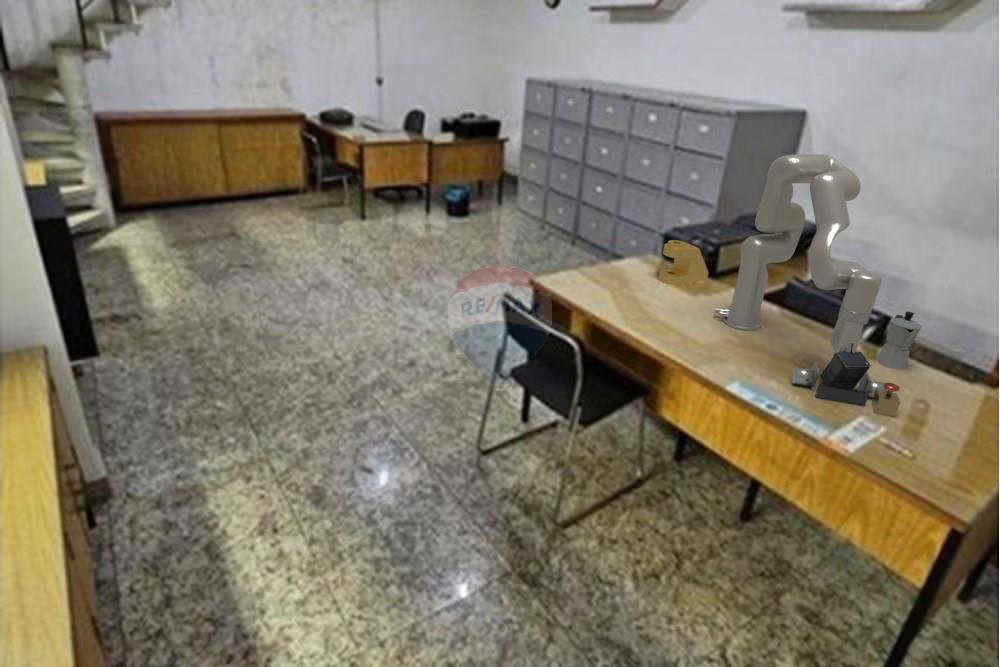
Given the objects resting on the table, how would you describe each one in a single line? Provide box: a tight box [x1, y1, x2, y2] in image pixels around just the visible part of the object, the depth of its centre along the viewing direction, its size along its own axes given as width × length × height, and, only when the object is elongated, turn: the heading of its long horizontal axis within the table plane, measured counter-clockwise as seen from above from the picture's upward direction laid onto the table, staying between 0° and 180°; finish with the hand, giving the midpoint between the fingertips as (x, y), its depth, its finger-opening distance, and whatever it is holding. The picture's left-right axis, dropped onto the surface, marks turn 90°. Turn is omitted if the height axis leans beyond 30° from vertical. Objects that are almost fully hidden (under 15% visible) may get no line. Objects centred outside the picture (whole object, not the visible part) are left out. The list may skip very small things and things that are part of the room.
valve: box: [870, 382, 902, 418], centre depth 171 cm, size 5×5×8 cm
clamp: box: [658, 239, 709, 285], centre depth 255 cm, size 20×9×16 cm, turn 116°
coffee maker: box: [875, 311, 923, 371], centre depth 195 cm, size 15×9×18 cm, turn 163°
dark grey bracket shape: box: [790, 361, 888, 407], centre depth 178 cm, size 24×10×6 cm, turn 73°
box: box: [819, 351, 872, 390], centre depth 179 cm, size 8×6×11 cm
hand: (835, 371), depth 186 cm, fingers closed
